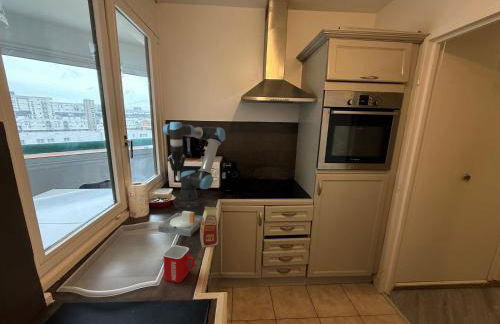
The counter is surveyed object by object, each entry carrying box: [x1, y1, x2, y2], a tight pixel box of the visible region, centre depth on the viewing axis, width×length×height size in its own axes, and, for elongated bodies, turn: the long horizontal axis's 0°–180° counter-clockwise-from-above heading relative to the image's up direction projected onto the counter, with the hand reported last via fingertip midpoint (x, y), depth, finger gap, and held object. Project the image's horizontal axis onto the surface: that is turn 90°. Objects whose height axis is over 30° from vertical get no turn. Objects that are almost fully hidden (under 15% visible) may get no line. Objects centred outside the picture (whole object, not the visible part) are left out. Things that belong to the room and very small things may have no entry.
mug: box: [162, 244, 195, 284], centre depth 88 cm, size 12×8×11 cm
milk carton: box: [199, 206, 219, 249], centre depth 114 cm, size 9×9×20 cm
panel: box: [157, 212, 203, 237], centre depth 131 cm, size 20×20×4 cm
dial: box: [170, 210, 196, 228], centre depth 131 cm, size 15×15×7 cm
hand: (177, 180), depth 147 cm, fingers closed
